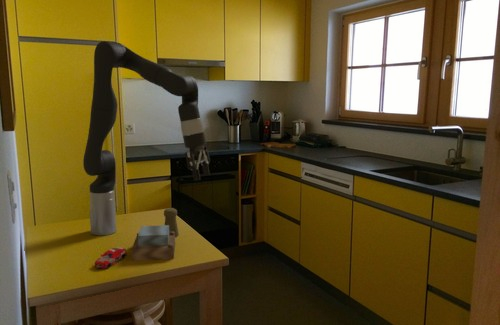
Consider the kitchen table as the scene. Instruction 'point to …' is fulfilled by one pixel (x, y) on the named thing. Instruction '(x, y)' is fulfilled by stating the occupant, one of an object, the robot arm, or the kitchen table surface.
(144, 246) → the knobbed square tray
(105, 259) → the race car
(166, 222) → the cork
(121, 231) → the kitchen table surface
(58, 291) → the kitchen table surface
